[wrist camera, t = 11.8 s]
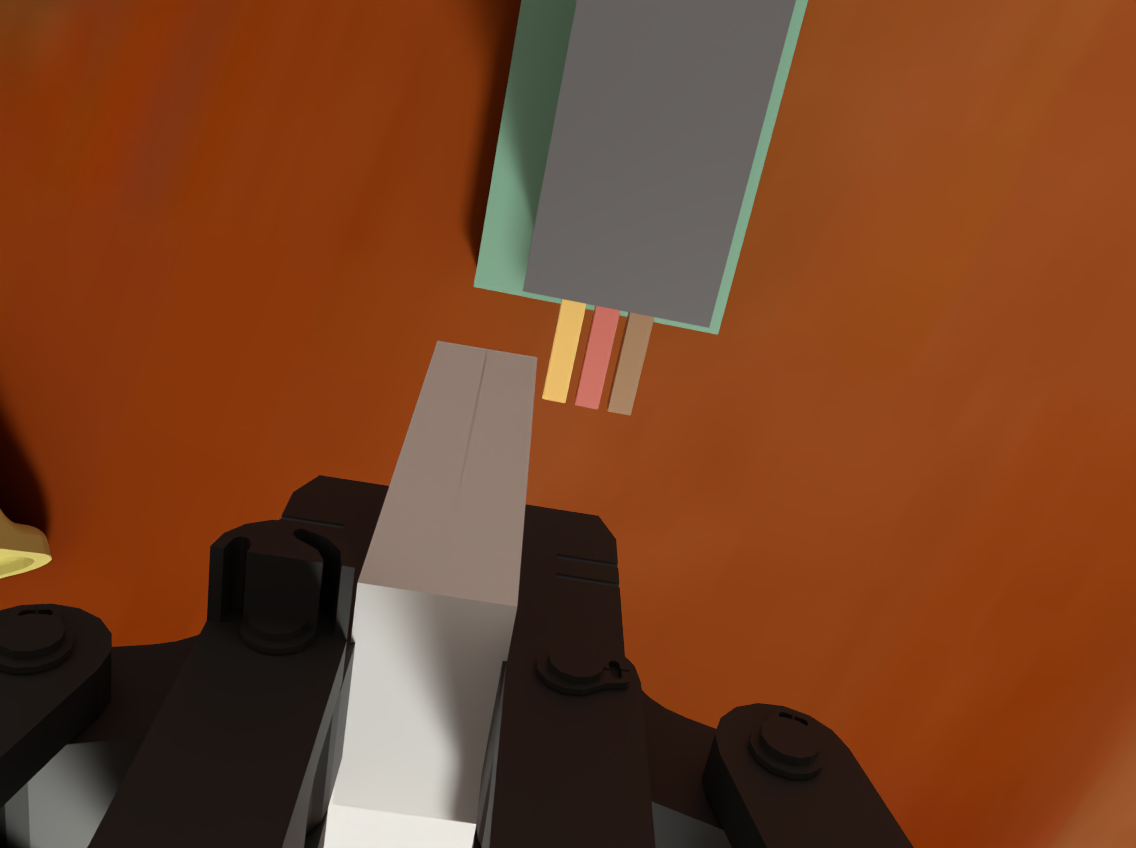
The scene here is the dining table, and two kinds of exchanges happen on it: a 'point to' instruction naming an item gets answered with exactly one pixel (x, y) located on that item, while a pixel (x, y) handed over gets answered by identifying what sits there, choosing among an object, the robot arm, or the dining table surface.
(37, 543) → the plastic component
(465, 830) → the square plate
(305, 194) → the dining table surface
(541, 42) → the header board
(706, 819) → the robot arm
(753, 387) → the dining table surface
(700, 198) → the plug housing
